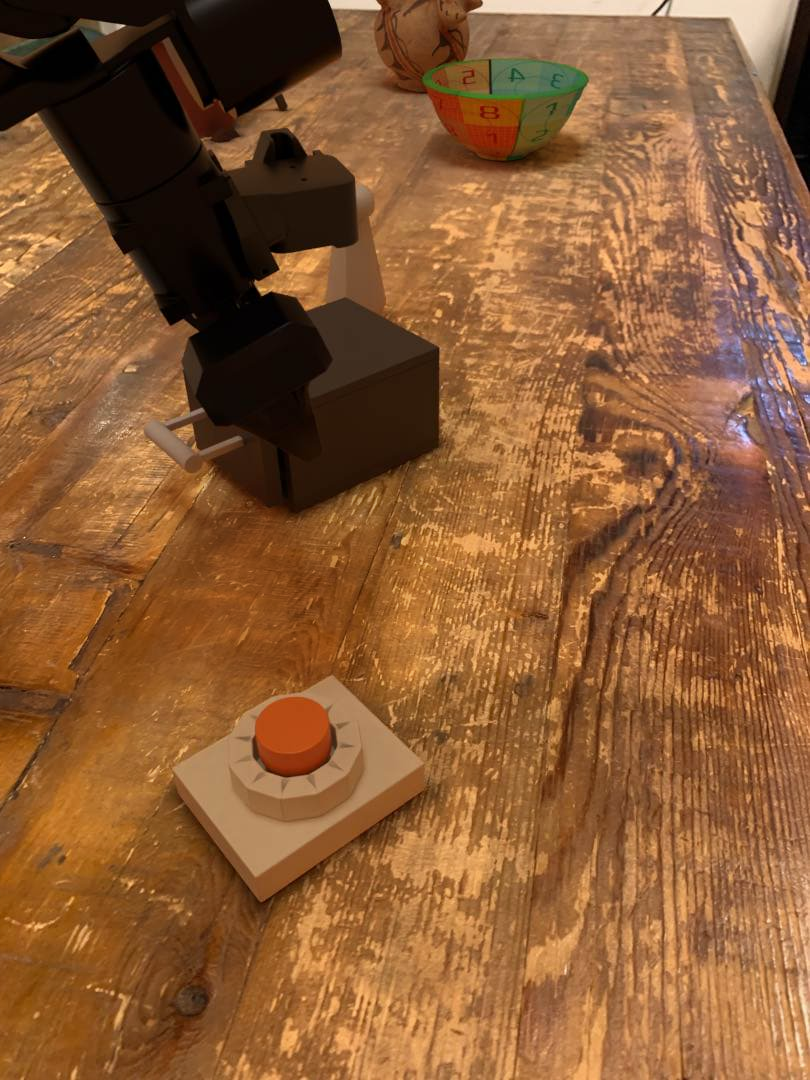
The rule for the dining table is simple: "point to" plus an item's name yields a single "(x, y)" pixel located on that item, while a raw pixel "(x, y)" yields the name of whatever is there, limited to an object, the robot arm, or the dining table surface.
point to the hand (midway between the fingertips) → (291, 414)
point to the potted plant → (202, 120)
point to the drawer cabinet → (365, 403)
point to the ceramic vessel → (422, 36)
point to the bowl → (504, 103)
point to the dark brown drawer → (223, 451)
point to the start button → (293, 736)
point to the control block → (298, 791)
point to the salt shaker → (358, 263)
